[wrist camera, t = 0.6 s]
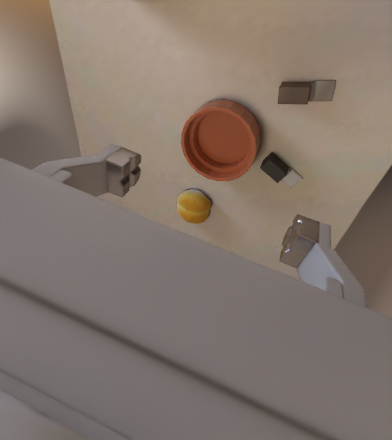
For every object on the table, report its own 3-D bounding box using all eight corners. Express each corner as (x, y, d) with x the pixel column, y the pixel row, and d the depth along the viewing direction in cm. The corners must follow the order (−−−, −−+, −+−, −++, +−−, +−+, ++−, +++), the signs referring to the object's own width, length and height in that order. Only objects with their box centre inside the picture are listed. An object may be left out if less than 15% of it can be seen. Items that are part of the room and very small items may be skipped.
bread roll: (214, 194, 64) (209, 204, 61) (207, 222, 70) (201, 232, 67) (181, 182, 65) (175, 191, 62) (177, 210, 71) (170, 220, 68)
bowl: (193, 91, 51) (183, 99, 47) (269, 107, 48) (264, 116, 44) (188, 160, 60) (179, 170, 57) (251, 176, 57) (246, 189, 54)
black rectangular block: (262, 161, 55) (259, 168, 52) (273, 151, 53) (270, 158, 50) (291, 186, 56) (289, 195, 54) (302, 178, 54) (301, 186, 52)
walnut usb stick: (280, 99, 47) (277, 105, 44) (282, 80, 45) (279, 85, 43) (331, 100, 44) (331, 106, 42) (335, 79, 42) (336, 85, 40)
